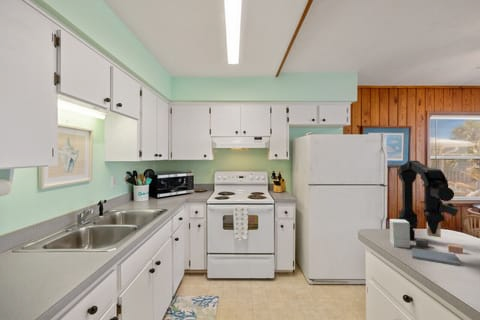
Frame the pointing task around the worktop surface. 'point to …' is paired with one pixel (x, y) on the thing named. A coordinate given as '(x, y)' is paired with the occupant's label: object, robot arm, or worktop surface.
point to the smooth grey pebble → (422, 243)
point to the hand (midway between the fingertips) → (433, 232)
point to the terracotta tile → (455, 249)
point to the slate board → (435, 256)
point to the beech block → (438, 231)
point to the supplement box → (400, 233)
